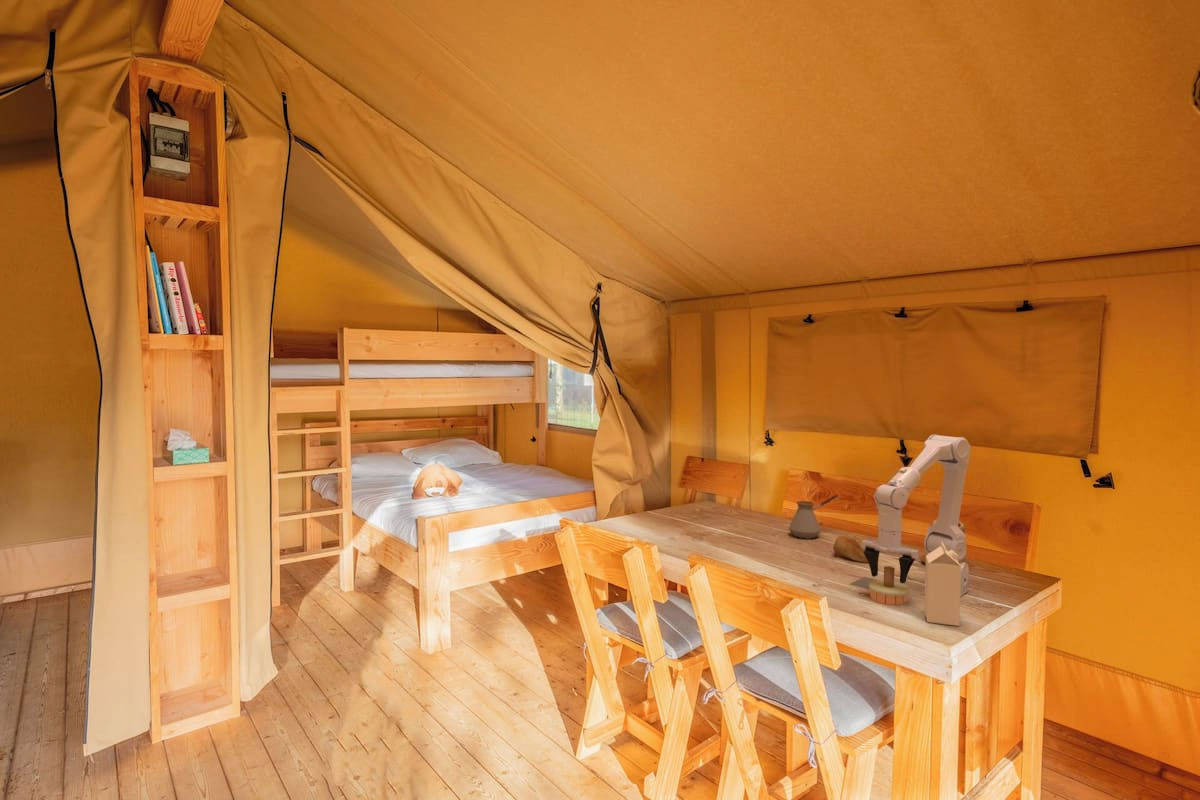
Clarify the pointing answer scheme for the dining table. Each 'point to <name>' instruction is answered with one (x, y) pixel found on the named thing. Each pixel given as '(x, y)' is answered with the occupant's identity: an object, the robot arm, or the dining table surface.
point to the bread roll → (850, 547)
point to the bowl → (888, 598)
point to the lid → (889, 584)
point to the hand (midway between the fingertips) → (888, 579)
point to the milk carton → (942, 587)
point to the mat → (863, 582)
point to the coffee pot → (806, 520)
